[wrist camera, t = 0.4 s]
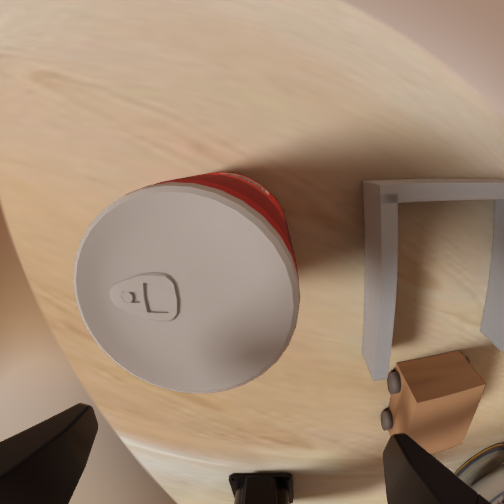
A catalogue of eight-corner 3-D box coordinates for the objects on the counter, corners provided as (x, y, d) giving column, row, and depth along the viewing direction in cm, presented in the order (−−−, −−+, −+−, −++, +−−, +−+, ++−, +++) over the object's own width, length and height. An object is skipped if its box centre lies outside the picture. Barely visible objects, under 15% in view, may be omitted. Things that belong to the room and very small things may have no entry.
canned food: (149, 193, 20) (42, 228, 10) (267, 155, 19) (261, 146, 9) (186, 299, 22) (125, 404, 12) (300, 270, 21) (322, 374, 10)
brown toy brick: (447, 408, 24) (466, 442, 19) (379, 423, 24) (392, 463, 20) (464, 348, 22) (491, 381, 17) (389, 364, 23) (409, 404, 18)
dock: (488, 328, 21) (509, 348, 18) (361, 353, 22) (373, 380, 19) (503, 178, 18) (532, 183, 15) (362, 180, 19) (379, 184, 16)
